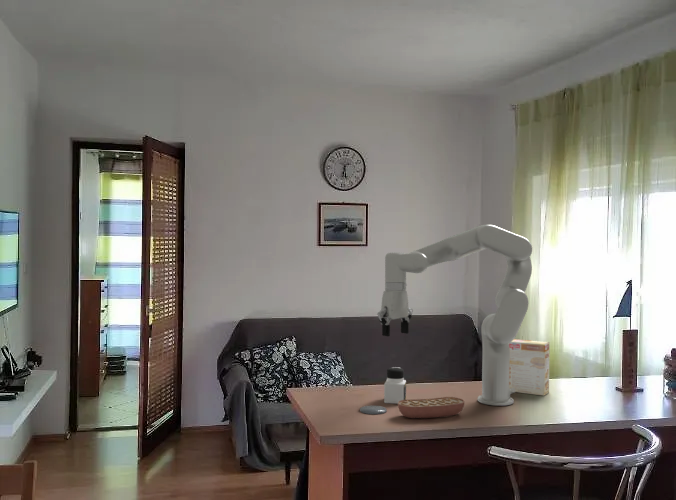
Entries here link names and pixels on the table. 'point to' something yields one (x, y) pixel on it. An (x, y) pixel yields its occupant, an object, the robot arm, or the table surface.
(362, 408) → the coaster
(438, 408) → the oval dish
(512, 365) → the coffeecake box
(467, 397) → the table surface
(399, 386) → the medicine bottle
